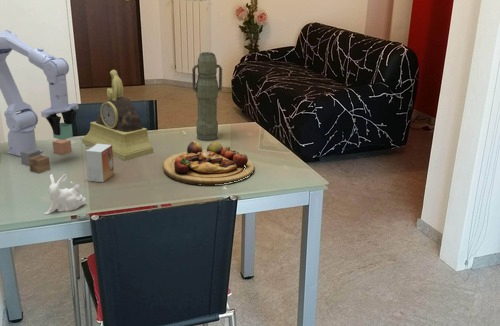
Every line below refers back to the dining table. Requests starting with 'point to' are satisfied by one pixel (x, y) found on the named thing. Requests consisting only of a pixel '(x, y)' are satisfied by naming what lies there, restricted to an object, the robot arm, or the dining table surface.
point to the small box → (99, 162)
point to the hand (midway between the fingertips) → (62, 132)
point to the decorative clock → (119, 125)
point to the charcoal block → (28, 155)
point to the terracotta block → (62, 146)
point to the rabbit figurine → (64, 196)
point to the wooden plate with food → (208, 165)
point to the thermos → (207, 95)
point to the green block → (64, 131)
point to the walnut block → (39, 164)
